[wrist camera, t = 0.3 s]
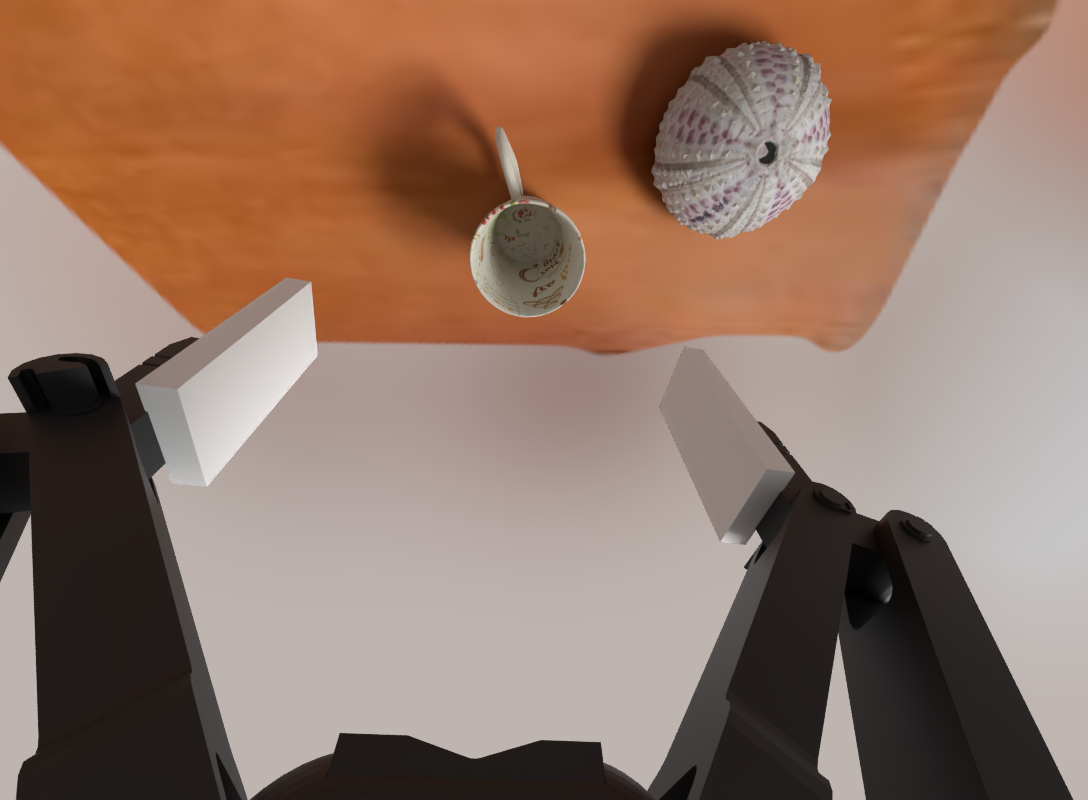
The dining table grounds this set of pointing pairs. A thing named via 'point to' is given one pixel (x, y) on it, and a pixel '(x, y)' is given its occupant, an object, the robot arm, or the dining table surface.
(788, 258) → the dining table surface
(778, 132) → the sea urchin shell
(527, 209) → the mug
